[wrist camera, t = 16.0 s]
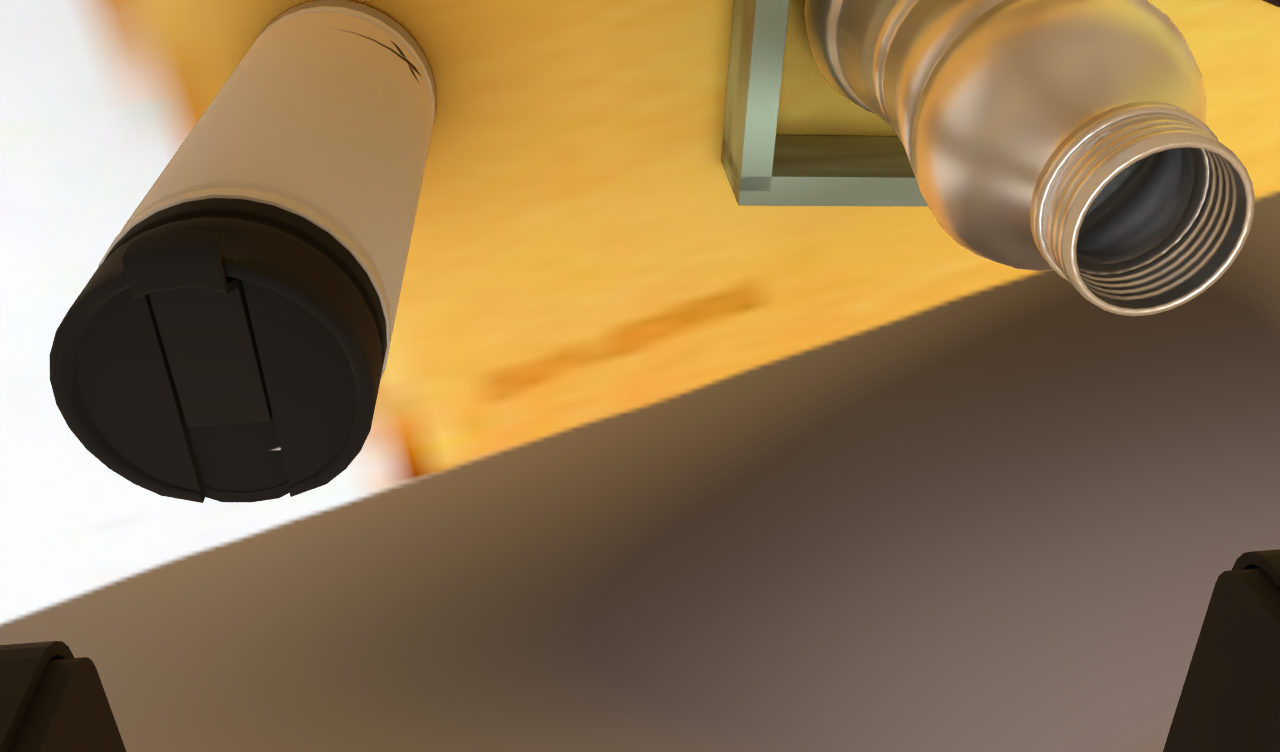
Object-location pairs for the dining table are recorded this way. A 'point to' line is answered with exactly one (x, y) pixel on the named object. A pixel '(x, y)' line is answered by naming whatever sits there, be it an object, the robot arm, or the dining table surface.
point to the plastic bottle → (1051, 136)
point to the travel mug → (259, 271)
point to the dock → (796, 162)
